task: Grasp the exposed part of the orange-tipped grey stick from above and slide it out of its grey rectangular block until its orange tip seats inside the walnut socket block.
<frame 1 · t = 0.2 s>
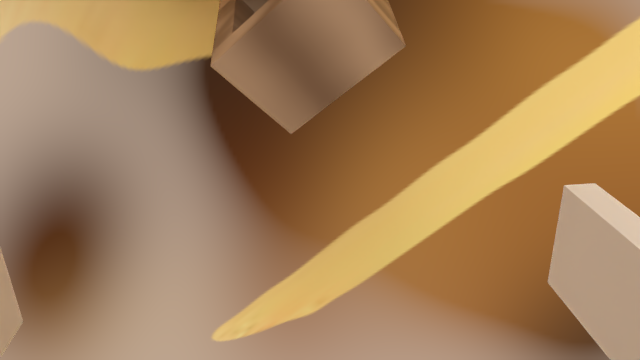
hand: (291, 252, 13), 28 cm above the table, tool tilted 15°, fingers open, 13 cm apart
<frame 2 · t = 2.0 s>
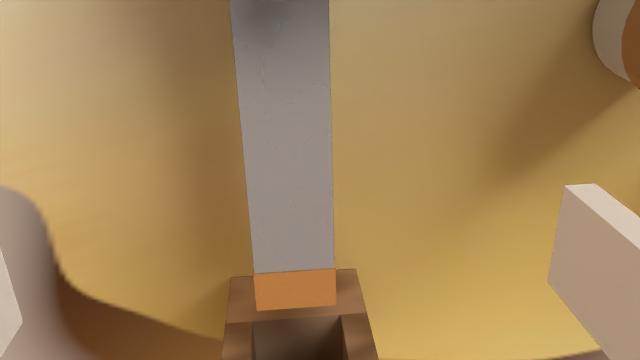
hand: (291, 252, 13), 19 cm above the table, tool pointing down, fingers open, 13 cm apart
socket: (295, 311, 37), on the table
orange-tipped grey stick: (280, 25, 22), point 7 cm above the table, slide at 0.0 cm
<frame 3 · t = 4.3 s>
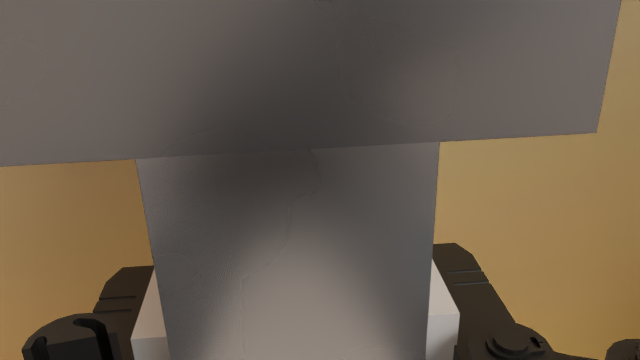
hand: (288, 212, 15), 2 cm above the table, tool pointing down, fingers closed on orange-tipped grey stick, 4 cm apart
orange-tipped grey stick: (289, 171, 9), point 7 cm above the table, slide at 0.0 cm, touching gripper
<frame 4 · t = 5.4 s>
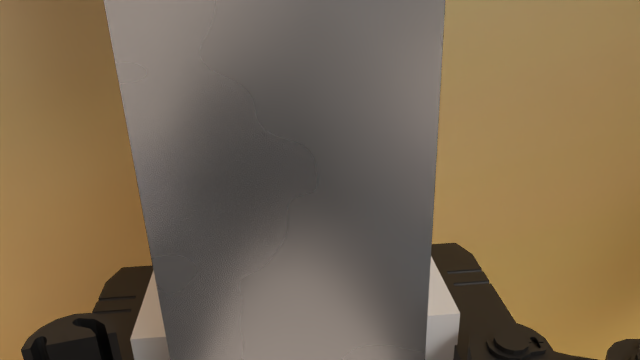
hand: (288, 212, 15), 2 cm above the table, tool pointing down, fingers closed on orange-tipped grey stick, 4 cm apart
orange-tipped grey stick: (287, 171, 9), point 7 cm above the table, slide at 3.9 cm, touching gripper
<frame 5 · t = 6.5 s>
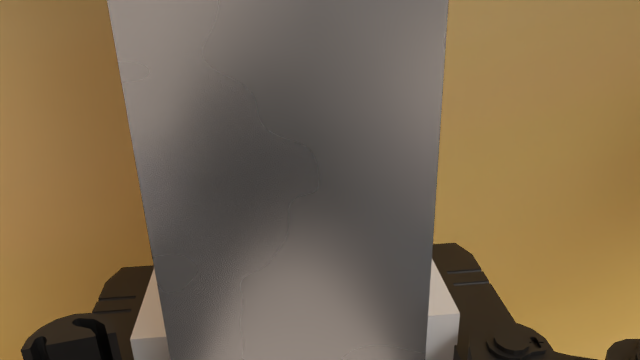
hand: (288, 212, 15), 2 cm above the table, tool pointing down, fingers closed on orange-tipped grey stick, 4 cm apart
orange-tipped grey stick: (288, 171, 9), point 7 cm above the table, slide at 7.9 cm, touching gripper
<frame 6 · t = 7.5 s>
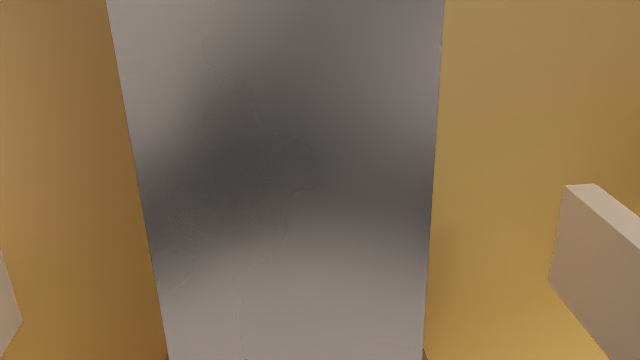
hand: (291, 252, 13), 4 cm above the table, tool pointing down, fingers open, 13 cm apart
orange-tipped grey stick: (286, 168, 9), point 7 cm above the table, slide at 8.0 cm
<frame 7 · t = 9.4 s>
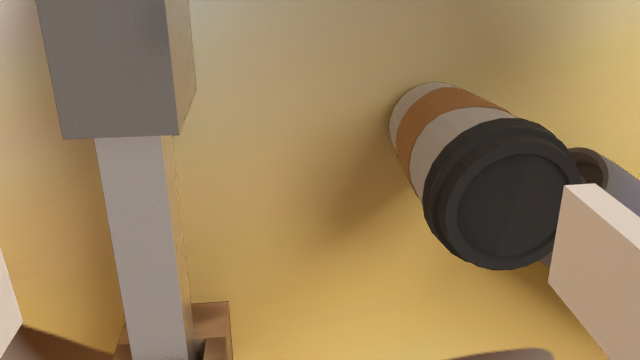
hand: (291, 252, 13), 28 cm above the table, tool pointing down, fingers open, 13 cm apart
socket: (183, 334, 47), on the table
bluetooth speaker: (608, 235, 48), on the table
grey rectangular block: (141, 0, 36), on the table
coffee cup: (427, 120, 42), on the table
orange-tipped grey stick: (152, 260, 36), point 7 cm above the table, slide at 8.0 cm
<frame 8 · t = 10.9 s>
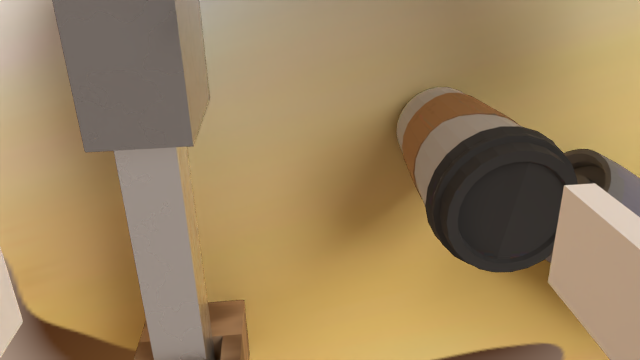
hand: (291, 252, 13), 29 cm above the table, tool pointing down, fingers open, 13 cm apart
socket: (201, 331, 49), on the table
bluetooth speaker: (616, 232, 49), on the table
grey rectangular block: (156, 15, 38), on the table
coffee cup: (434, 124, 43), on the table
orange-tipped grey stick: (170, 263, 38), point 7 cm above the table, slide at 8.0 cm
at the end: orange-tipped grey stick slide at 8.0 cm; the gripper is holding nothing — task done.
